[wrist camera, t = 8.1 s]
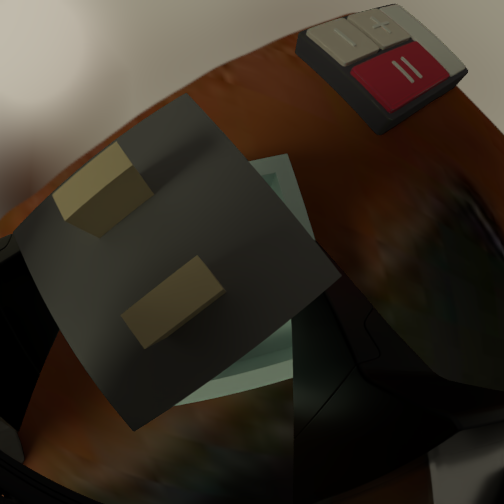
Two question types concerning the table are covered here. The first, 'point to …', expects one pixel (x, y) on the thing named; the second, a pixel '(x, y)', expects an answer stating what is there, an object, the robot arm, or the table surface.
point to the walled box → (280, 342)
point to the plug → (168, 260)
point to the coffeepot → (10, 443)
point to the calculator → (381, 63)
